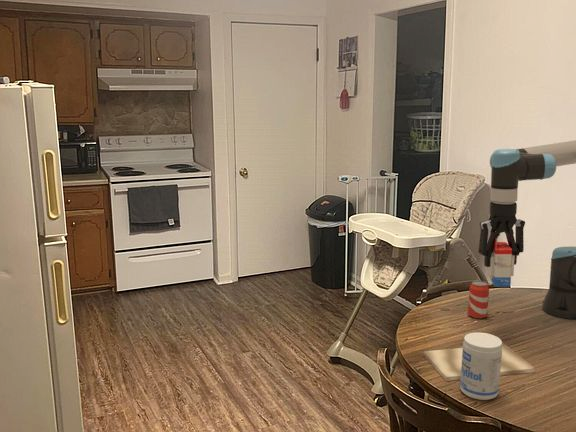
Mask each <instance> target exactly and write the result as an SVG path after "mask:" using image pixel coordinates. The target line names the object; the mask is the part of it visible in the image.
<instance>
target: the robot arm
mask: <svg viewBox="0 0 576 432" xmlns="http://www.w3.org/2000/svg"><path fill="white" fill-rule="evenodd" d="M573 164H576V139H575V140H568V141H562V142H555V143H549V144H543V145H542V144H541V145H536V146H527V147H522V148H515V149H514V148H500V149H496V150H494V151H493V153H491V155H490V157H489V166H490V168H491V174H490V175H491V177H490V196H489V197H490V203H489V218H488V220H487V221H480V222H479V227H480V228H479V229H480V235H479V241H478V242H479V245H478V254H480V255H482V256H483V257H484V261H483V264H484V267H486V270H485V271H486V272H485V273H486V274H485V275H486V277H488V278H489V277H490V278H493V264H494V257H492V256H491V255H492V253H493V250H494V246H495V238H496V239H497V240H498V238H499V237H500V235H501V233H504V234H505V237H506V238H505V239H506V241H507V244H508V245H509V246H510V248H511V249H512V262H511V277H514V271H515V266H516V265H517V259H518V256H520V253H523V252H524V251H525V248H524V246H525V245H524V242H525V241H524V228H525V226H526V221H525V220H523V219H521V218H520V219H517V217H516V215H517V209H518V207H517V206H518V203H517V201H518V194H519V193H518V192H519V191H518V189H519V182H520V181H521V182H522V181H535V180H545V179H550V178H552V177H553V176H554V175H555V174H556V171H557V167H561V166H567V165H573ZM514 226H515V232H514V229H513V228H514ZM490 227H491V228H490ZM489 229H490V231H489ZM489 232H490V233H489ZM514 234H515V236H514ZM549 273H550V275H549V287H548V290H547V292H546V294H545V296H544V299H543V301H542V305H541V306H542V307H541V309H542V310H543V311H544V312H545V313H546V314H548V315H551V316H553V317H557V318H561V319H569V320H572V319H573V320H576V246H559V247H556V248H554V249H553V250H552V253H551V258H550V272H549ZM490 278H489V279H490Z"/></svg>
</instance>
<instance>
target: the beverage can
mask: <svg viewBox="0 0 576 432" xmlns="http://www.w3.org/2000/svg"><path fill="white" fill-rule="evenodd" d="M489 295H490V287H489V285H488V282H487V281H483V280H473V281H471V284H470V286H469V291H468V309H467V314H468V315H469V316H470V317H471V318H473V319H481V320H482V319H484V318H486V317H487V316H488V313H489V312H488V311H489Z"/></svg>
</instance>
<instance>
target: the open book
mask: <svg viewBox="0 0 576 432" xmlns="http://www.w3.org/2000/svg"><path fill="white" fill-rule="evenodd" d="M462 352H463V347H458V348H445V349H437V350H426V351H423V354H422V356H423V357H424V358H425V359H426V360H427V362H429V364H430V365H431V366H432V368H434V369H435V370H436V372H437V373H439V375H440V376H441V377H442V378H443V379H444V380H445V381H446V382H450V381H459V380H461V366H462ZM535 372H536V368H535V367H534V366H533V365H531V363H529V362H528V361H527V360H525V359H524V358H523V357H522V356H521V355H520V354H518V353H516V351H514V350H513V349H512V348H510V347H509V346H508V345H507V344H505V343H502V358H501V369H500V377H501V376H511V375H520V374H521V375H523V374H530V373H535Z"/></svg>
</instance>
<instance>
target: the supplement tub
mask: <svg viewBox="0 0 576 432" xmlns="http://www.w3.org/2000/svg"><path fill="white" fill-rule="evenodd" d="M462 343H463V344H462V348H463V352H462V366H461V380H460V381H459V382H460V383H459V384H460V385H459V388H460V390H461V392H462V393H463V394H464V395H465V396H466V397H469V398H471V399H475V400H479V401H488V400H493V399H495V398H497V396H498V394H499V392H500V391H499V389H500V378H501V376H500V369H501V358H502V344H503V341H502V340H501V338H499V337H498V336H497V335H494V334H490V333H487V332H486V333H485V332H470V333H467V334H466V335H465V336H464V338H463V342H462Z"/></svg>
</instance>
